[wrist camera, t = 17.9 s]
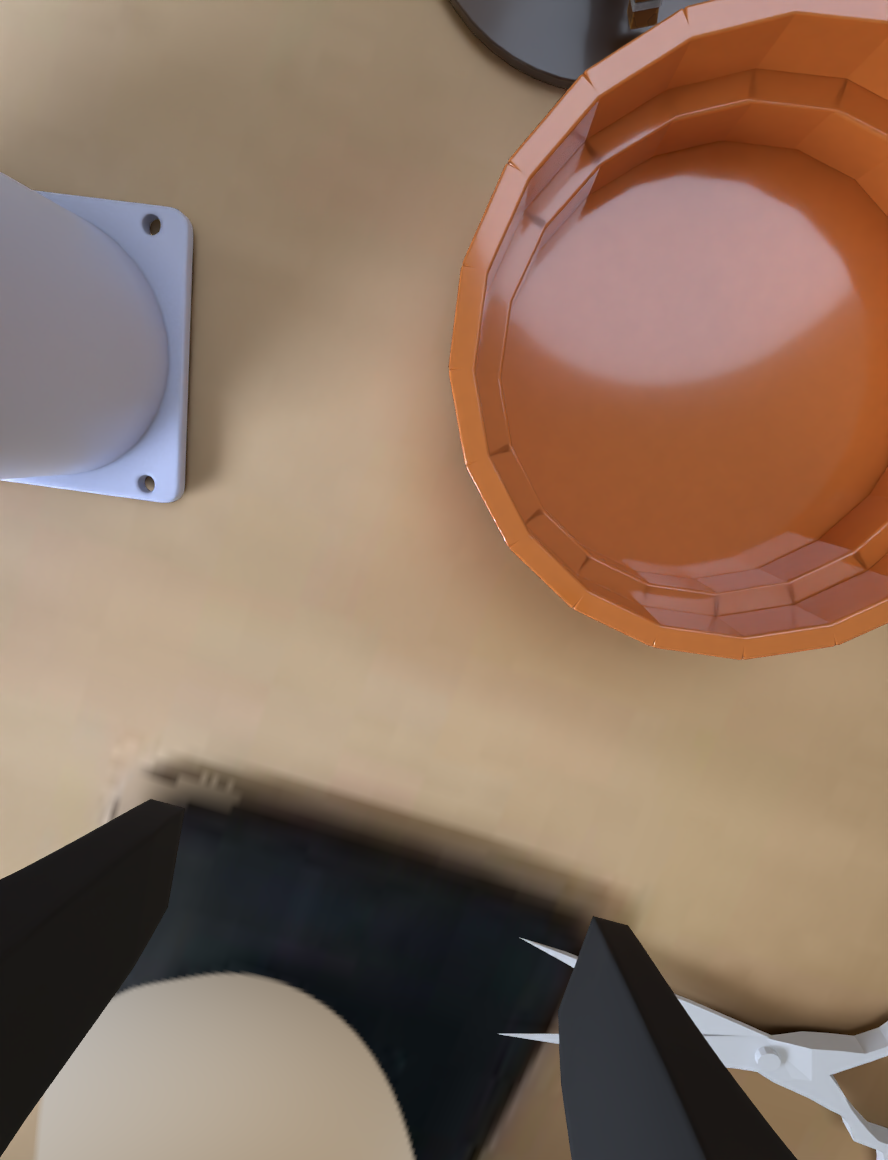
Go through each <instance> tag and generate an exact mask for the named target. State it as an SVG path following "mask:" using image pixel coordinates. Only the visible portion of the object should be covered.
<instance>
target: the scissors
mask: <svg viewBox="0 0 888 1160" xmlns="http://www.w3.org/2000/svg"><path fill="white" fill-rule="evenodd" d="M519 938H520V937H519ZM521 939H523V938H521ZM523 940H525V941H527V942H528V943H530V944H532V945H534V946H536V947H537V948H539V949H541V950H543V951H545V952H547V953H548V954H550V955H552V956H554V957H556V958H557V959H559V960H561V961H563V962H565V963H566V964H568V965H570V966H572V967H575V964H576V961H577V959H578V956H575V955H573V954H570V953H568V952H565V951H562V950H559V949H555V948H552V947H549V946H546V945H542V944H539V943H536V942H533V941H529V940H526V939H523ZM675 995H676V997H677V998H678V1000H679V1001H680V1003H681V1004H682V1006H683V1007H684V1009H685V1010H686V1012H687V1013H688V1015H689V1016H690V1017H691V1019H692V1020H693V1022H694V1023H695V1025H696V1026H697V1028H698V1029H699V1030H700V1032H701V1033H702V1035H703V1036H704V1038H705V1039H706V1040H707V1042H708V1043H709V1045H710V1046H711V1047H712V1049H713V1050H714V1052H715V1053H716V1054H717V1056H718V1057H719V1059H720V1060H721V1061H722V1063H723V1064H724V1065H725V1067H728V1068H736V1069H743V1070H749V1071H755V1072H758V1073H760V1074H761V1075H763V1076H764V1077H766V1078H768V1079H769V1080H771V1081H772V1082H774V1083H776V1084H779V1085H781V1086H783V1087H785V1088H787V1089H790V1090H792V1091H794V1092H796V1093H799V1094H801V1095H803V1096H805V1097H807V1098H810V1099H811V1100H813V1101H815V1102H817V1103H818V1104H820V1105H822V1106H824V1107H825V1108H827V1109H829V1110H831V1111H833V1112H835V1113H837V1114H839V1115H841V1116H842V1119H843V1122H844V1124H845V1126H846V1128H847V1129H848V1131H849V1133H850V1135H851V1137H852V1139H853V1141H855V1142H858V1143H860V1144H863V1145H866V1146H868V1147H871V1148H873V1149H876V1152H877V1160H888V1128H885V1127H882V1126H879V1125H876V1124H873V1123H870V1122H867V1121H866V1120H865V1119H864V1118H863V1117H862V1116H861V1114H860V1113H859V1112H858V1111H857V1110H856V1109H855V1108H854V1107H853V1106H852V1104H851V1103H850V1102H849V1101H848V1100H847V1098H846V1097H845V1096H844V1094H843V1092H842V1090H841V1089H840V1087H839V1085H838V1083H837V1081H836V1080H835V1078H834V1076H833V1074H835V1073H838V1072H841V1071H844V1070H847V1069H850V1068H853V1067H856V1066H859V1065H862V1064H865V1063H868V1062H871V1061H874V1060H877V1059H880V1058H883V1057H885V1056H888V1021H887V1022H886V1023H884V1024H883V1025H881V1026H880V1027H878V1028H876V1029H873V1030H870V1031H867V1032H864V1033H861V1034H858V1035H855V1036H852V1035H842V1034H833V1033H820V1032H806V1031H800V1032H793V1033H785V1034H778V1035H770V1034H767V1033H765V1032H763V1031H761V1030H758V1029H756V1028H754V1027H751V1026H749V1025H747V1024H745V1023H742V1022H740V1021H738V1020H735V1019H733V1018H731V1017H728V1016H726V1015H724V1014H722V1013H719V1012H717V1011H715V1010H712V1009H710V1008H708V1007H705V1006H703V1005H701V1004H699V1003H696V1002H694V1001H692V1000H689V999H687V998H684V997H682V996H679V995H677V994H675ZM501 1035H507V1036H513V1037H520V1038H526V1039H532V1040H538V1041H544V1042H551V1043H557V1044H559V1034H501Z"/></svg>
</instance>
